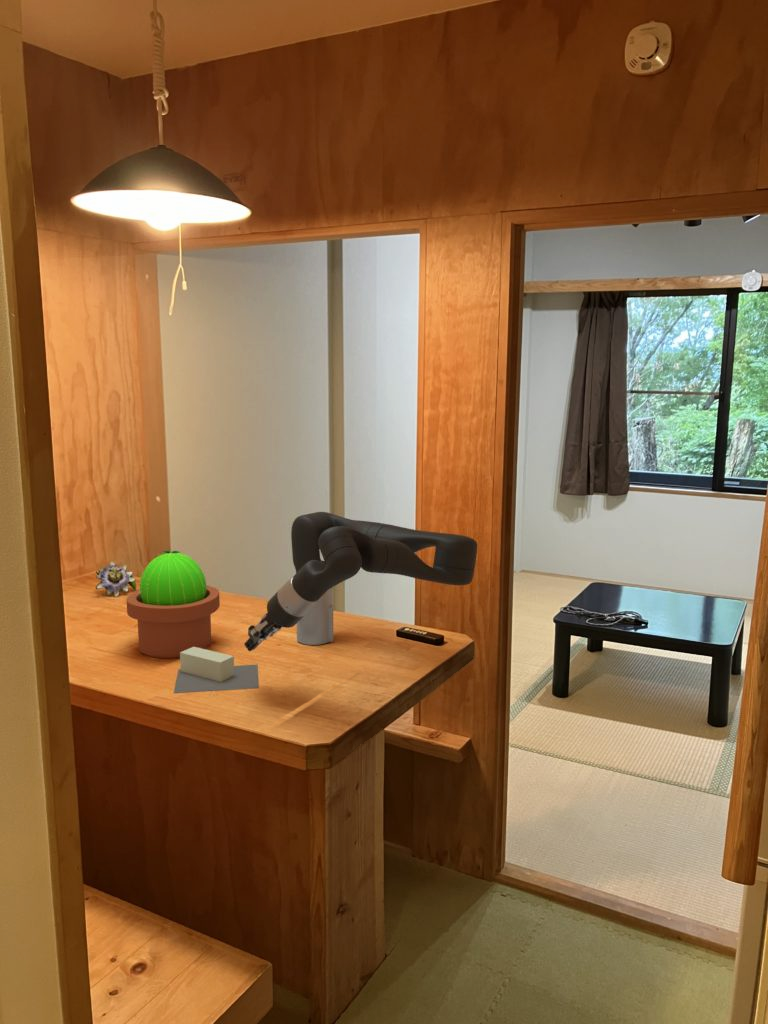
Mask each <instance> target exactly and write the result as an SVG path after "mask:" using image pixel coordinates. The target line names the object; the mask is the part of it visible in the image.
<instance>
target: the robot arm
mask: <svg viewBox="0 0 768 1024" xmlns="http://www.w3.org/2000/svg"><path fill="white" fill-rule="evenodd" d="M290 533H291V534H290V536H291V537H290V538H291V554H292V563H293V566H294V568H295V574H294V575H293V576H292V577H291V578H289V580H287V581H286V582H284V584H283V585H282V586H281V587H280V588H279V589H278V590H277V591H276V593H275V594H273V596H272V597H271V598H270V599H268V601H267V604H266V613H265V614H263V616H261V618H260V620H259V622H258V623H257V624H256V625H254V624H252V625H250V626H249V627H248V630H247V635H248V637H249V638H248V639H247V640H246V641H245V642H244V647H245V648H246V649H247V650H248V651H249V652H252V651H254V650H255V649H257V648H258V646H260V645H261V643H262V642H263V641H266V640H268V638H269V637H270V638H271V637H273V636H274V635H275V634H277V633H278V632H280V631H281V630H282V629H283V628H287V629H289V628H293V627H294V626H296V641H297V642H298V643H300V644H303V645H308V646H311V645H312V646H313V645H314V646H318V645H324V644H329V643H333V642H334V606H333V587H335V586H338V585H339V584H341V583H343V582H345V581H347V580H348V579H351V578H353V577H354V576H356V575H357V574H358V573H359V571H360V569H361V570H363V571H365V572H367V573H372V574H373V573H374V574H391V575H399V576H404V577H409V578H413V579H417V580H423V581H427V582H432V583H437V584H444V585H451V586H466V585H469V584H471V583H472V581H473V580H474V575H475V569H476V561H477V555H478V542H477V541H476V540H475V539H474V538H472V537H470V536H467V535H461V534H454V533H448V532H447V533H445V532H434V531H426V530H418V529H413V528H409V527H408V528H407V527H404V526H399V525H394V524H390V523H383V522H382V523H381V522H376V521H368V520H357V519H351V518H347V517H343V516H340V515H338V514H335V513H330V512H327V511H326V512H325V511H315V512H312V513H306V514H301V515H299V516H297V517H296V518H295V519H294V520H293V522H292V525H291V531H290ZM433 547H435V549H434V555H433V556H434V557H433V564H432V566H430V565H429V564H427V563H426V562H425V561H423V560H422V559H421V558H420V557H419V556H418V555H417V554H416V553H417V552H420V551H421V550H423V549H428V548H433ZM321 556H322V558H323V560H322V558H321Z"/></svg>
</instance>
